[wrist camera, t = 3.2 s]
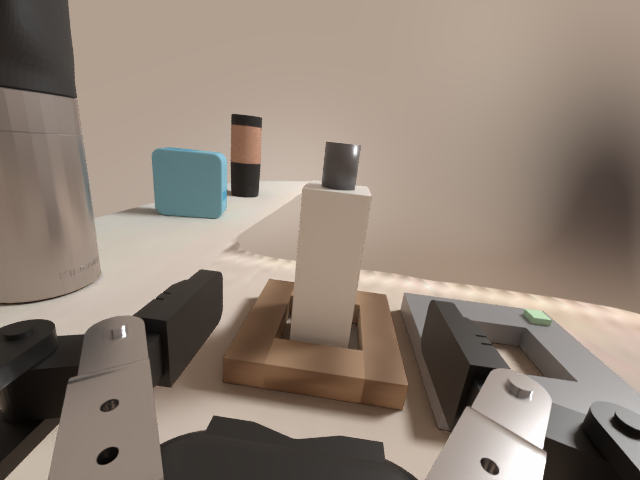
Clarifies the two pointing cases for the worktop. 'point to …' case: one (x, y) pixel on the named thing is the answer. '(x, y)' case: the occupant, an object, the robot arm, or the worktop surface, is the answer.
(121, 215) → the worktop surface
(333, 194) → the plug
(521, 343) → the port plate
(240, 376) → the brown square frame
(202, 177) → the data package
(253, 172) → the travel mug
